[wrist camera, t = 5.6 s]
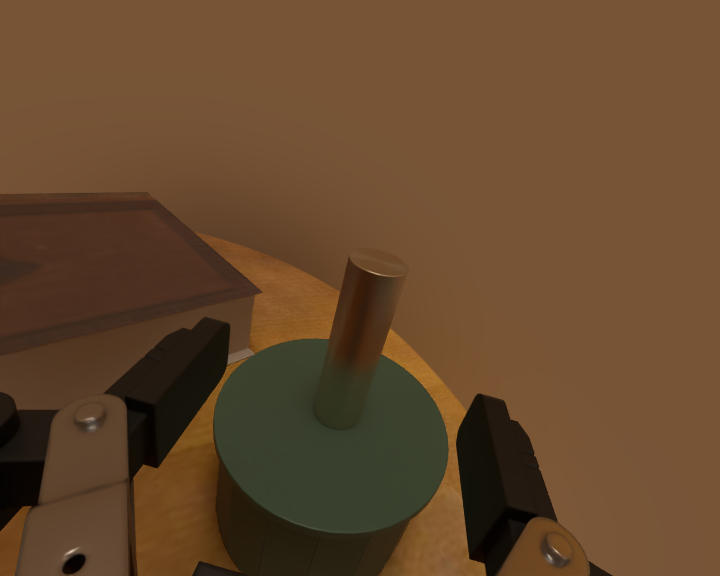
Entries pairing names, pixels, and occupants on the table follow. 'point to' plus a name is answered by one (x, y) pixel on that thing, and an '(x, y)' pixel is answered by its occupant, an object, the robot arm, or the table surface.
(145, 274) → the book
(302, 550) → the tin
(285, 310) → the table surface
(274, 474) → the tin lid
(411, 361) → the table surface
